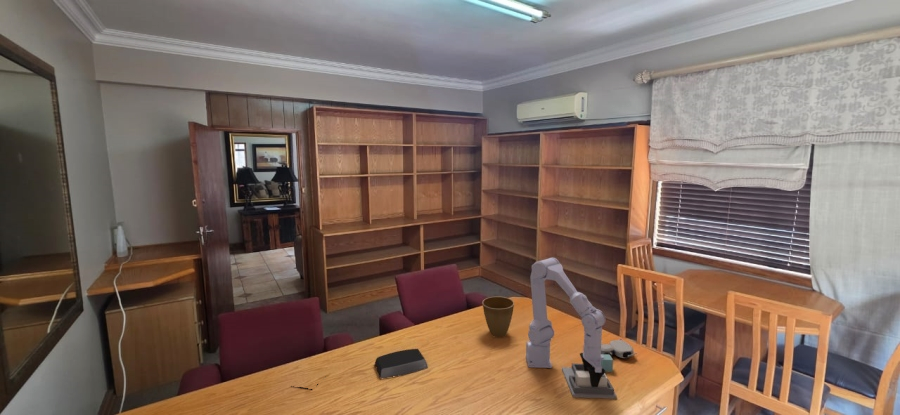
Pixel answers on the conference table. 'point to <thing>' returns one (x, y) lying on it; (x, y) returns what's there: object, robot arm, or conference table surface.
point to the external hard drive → (400, 363)
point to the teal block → (607, 363)
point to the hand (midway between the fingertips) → (591, 379)
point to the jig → (586, 391)
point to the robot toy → (618, 349)
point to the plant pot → (498, 314)
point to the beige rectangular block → (588, 379)
